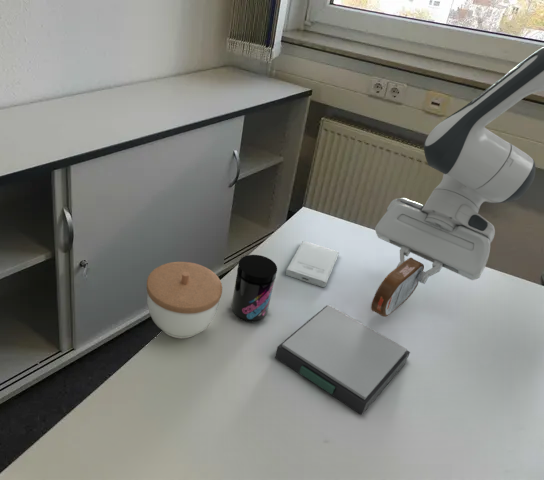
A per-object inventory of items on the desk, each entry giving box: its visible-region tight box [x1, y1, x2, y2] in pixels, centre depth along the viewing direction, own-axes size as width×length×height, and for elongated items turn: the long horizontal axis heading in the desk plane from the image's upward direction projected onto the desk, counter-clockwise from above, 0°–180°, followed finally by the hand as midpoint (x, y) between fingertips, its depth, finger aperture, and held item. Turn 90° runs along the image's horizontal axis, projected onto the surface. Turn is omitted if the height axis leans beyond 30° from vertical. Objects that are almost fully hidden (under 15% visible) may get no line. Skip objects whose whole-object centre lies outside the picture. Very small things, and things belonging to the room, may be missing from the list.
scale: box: [274, 304, 411, 415], centre depth 90 cm, size 16×16×3 cm
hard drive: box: [285, 240, 340, 288], centre depth 113 cm, size 2×8×12 cm
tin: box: [370, 257, 425, 318], centre depth 99 cm, size 15×3×8 cm, turn 135°
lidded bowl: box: [146, 261, 223, 340], centre depth 92 cm, size 13×13×11 cm
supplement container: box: [230, 254, 278, 323], centre depth 96 cm, size 7×7×10 cm
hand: (410, 276), depth 101 cm, fingers closed on tin, 3 cm apart
